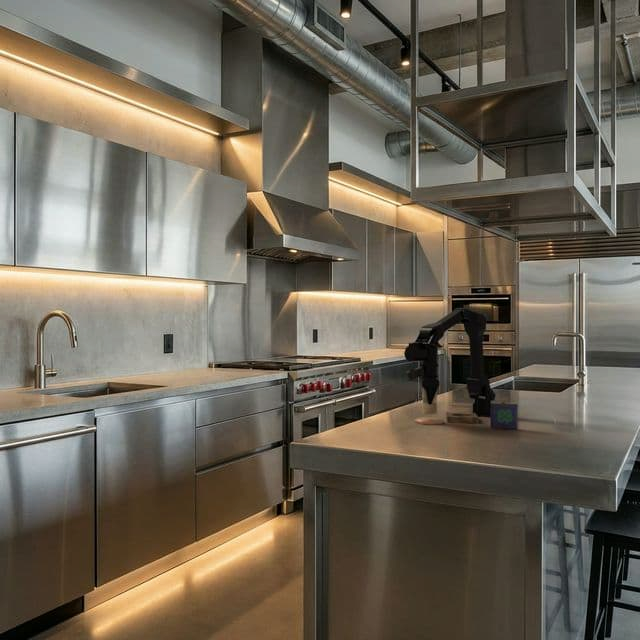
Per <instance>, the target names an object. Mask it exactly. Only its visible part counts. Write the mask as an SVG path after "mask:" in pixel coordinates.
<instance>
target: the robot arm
mask: <svg viewBox="0 0 640 640" xmlns="http://www.w3.org/2000/svg"><path fill="white" fill-rule="evenodd" d="M459 323H460V324H462V325H463V329H464V332H465V333H466V335H467V336H468V342H469V356H470V357H469V359H470V372H471V373H470V376H469V377H467V378H466V380H465V381H466V389H467V393H468V395H469V399H471V400H473V401H472V403H471V413H475V414H476V415H477V417H491V403H492V401H493V402H494V401H495V400H496V393H495V392H494V390H493V389H492V388H491V383H490V380H489V378H488V376H487V375H486V373H485V361H484V360H485V358H484V345H483V343H484V342H483V335H484V334H485V332H486V330H487V318H486V316H484V314H483V313H478V312H475V311H473V310H470V309H468V308H466V307H457V308H454V310H453V311H451V312H450V313H448V314H447V315H445V316H443V317H442V318H441V319H439V320H437V321H435V322H432V323H429V324H426V325H423V326H421V327H420V328H419V331H418V333H417V335H416V337H415V339H414V341H413V342H408V345H407V346H406V348H405V349H404V352H403V355H404V359H406V361H407V362H421V363H420V367H417V368H414V367H412V368H410V369H409V370H407V371H406V372H405V373H406V377H407V380H408V381H409V382H411V381H413V380H415V379H418V378H420V384H421V388H422V389H423V388H424V389H425V390H426V395H427V400H428V404H429V405H431V404H432V402H433V399H434V397H435V394H436V392H437V393H438V389H439V387H440V384H441V383H440V379H439V375H438V374H439V349H442V348H443V346H442V345H441V344H440V342H439V341H441V339H442V338H443V337H444V336H445V333H446V332H447V331H448V330H450V329H451V328H452V327H454V326H456V325H457V324H459Z"/></svg>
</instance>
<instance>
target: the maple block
mask: <svg viewBox="0 0 640 640" xmlns="http://www.w3.org/2000/svg"><path fill="white" fill-rule="evenodd" d="M421 408H422V414H423V415H437V413H438V391H437V392H436V394H435V397H434V399H433V402H432V404H431V405H429V404H428V400H427V395H426V390H425V389H424V388H423V387H422V407H421Z"/></svg>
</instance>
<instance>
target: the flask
mask: <svg viewBox="0 0 640 640" xmlns="http://www.w3.org/2000/svg"><path fill="white" fill-rule="evenodd" d="M518 407H519V404H518V403H517V402H508V401H507V398H505V397H503V398H502V400H501V401H499V400H498V401H495V400H494V401H493V402H491V416H490V418H489V419H490V426H489V427H490V430H501V431H502V430H503V431H504V430H507V431H508V430H511V431H515V430H516V431H517V430H518V427H519V426H518V423H519V418H518V415H519V411H518Z"/></svg>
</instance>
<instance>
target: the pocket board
mask: <svg viewBox="0 0 640 640" xmlns="http://www.w3.org/2000/svg"><path fill="white" fill-rule="evenodd" d="M445 420H446V423H462V424H479V416H477V415H476V414H475V413H472V412H451V411H450V412H449V411H448V412H447V411H446V412H445Z"/></svg>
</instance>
